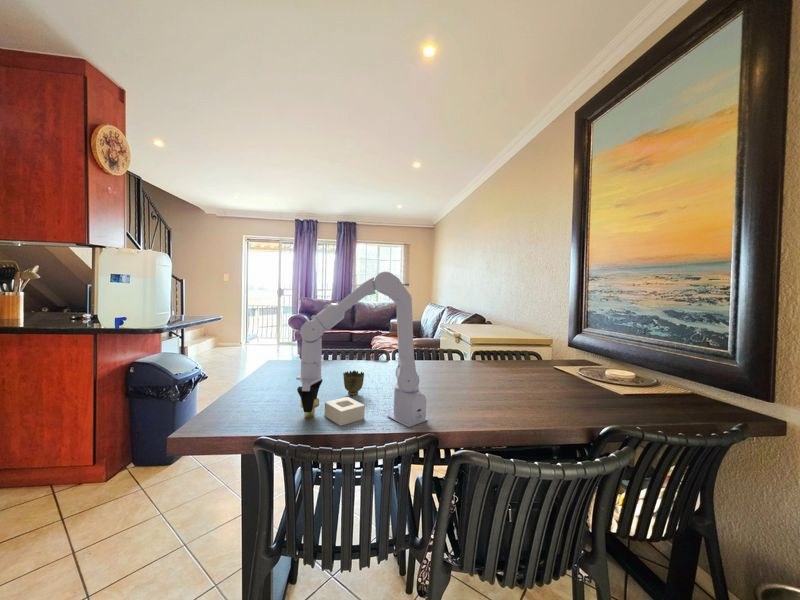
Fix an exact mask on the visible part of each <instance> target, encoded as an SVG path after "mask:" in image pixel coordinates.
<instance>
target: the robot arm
mask: <svg viewBox="0 0 800 600" xmlns="http://www.w3.org/2000/svg"><path fill="white" fill-rule="evenodd" d="M376 291H377V292H378V293H379V294H382V295H384V296H387V297H388V298H389V299H391V301H393V302H394V303H395V305H396V326H397V327H396V328H397V331H396V332H397V351H398V352H397V356H398V358H397V359H398V360H397V361H398V362H397V367H396V369H395V378H396V379H397V381H396V384H395V385H394V388H393V389H394V395H393V397H394V398H393V412H392V413H389V414H387V415H386V417H388V418H390V419H392V420H393V421H395V422H398V423H399V424H401V425H404V426H405V427H407V428H410V427H413V426H416V425H419V424H421V423H424V422H427V421H428V418H427V417H426V416H427V397H426V395H425V394H424V393H422V392H421V391H420V389H419V387H420V386H419V384H420V376H419V375H418V373H417V370H416V369H417V367H416V361H415V350H414V349H415V348H414V347H415V346H414V323H413V320H414V319H413V301H412V300H413V299H412V295H411V294H410V292H409V290H407V288H406V287H405V286H404V284H403V283H402V281H401V279H400V278H399V277H398V276H397V275H394V274H393V273H392V272H390V271H381V272H379V273H378V274H377V275H375V276H373V277H371V278H369V279H367V280H366V281H365V282H363V283H361V284H360V285H358V287H357V288H355V289H354V290H353V291H352V292H350V293H349V294H348V295H347V296H345V297H344V298H343V299H342V300H341V301H340V302H338V303H336V302H331V303H330V304H328V303H327V304H325V305H323V309H321V310H320V311H319V312H318V313H317V314H313V315H311V316H310V318H311V320H306V321H305V322H304V323H303V324H302V325H301V327H300V330H299V334H300V337H301V338H302V340H301V352H300V358H301V360H300V375H297V376H296V378H295V379H296V380H297V381H298V380H299V381H300V384H302V385H301V386H298V387H297V390H296V391H297V393H298V395H299V397H300V401H301V400H302V405H303V408H302V409H303V410H302V411H303V412H304V413H305V412H312V409H313V404H314V399H315V398H318V394H319V389H320V387H321V385H322V383H323V379H322V377H323V376H322V360H323V359H322V355H323V353H322V352H323V351H322V350H323V344H322V343H323V340H322V339H323V338H322V337H323V336H324V333H325V332H328V331H330V330H331V329H333V328H334V326H336V325H338V323H340V322H341V321H342V320H344V319H345V313H346V312H347V311H348V310H349V309H351V307H353V306H354V305H356V304H357V303H358V302H360V301H361V300H363V299H364V298H365V297H367V296H372V295H376V294H377V292H376Z"/></svg>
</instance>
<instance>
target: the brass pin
mask: <svg viewBox="0 0 800 600" xmlns="http://www.w3.org/2000/svg"><path fill="white" fill-rule="evenodd" d="M319 406H320V398H318V397H317V398H315V399H314V404H313V409H312V412H304V419H306V420H311V419H312V420H313V419H314V418H315V410H316V408H318V407H319ZM300 407H301V408H302V409H303V405H302V400H301V399H300Z"/></svg>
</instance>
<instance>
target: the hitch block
mask: <svg viewBox="0 0 800 600" xmlns="http://www.w3.org/2000/svg"><path fill="white" fill-rule="evenodd" d="M365 407H366V405H365V404H363V403H361V402H359V401H358V400H355V399H354V398H351V397H349V396H346V397H345V396H344V397H342V398H341V397H340V398H337V399H331V400H328V401H325V402H324V414H323V415H324V416H325V417H326V418H327V419H329V420H330V421H332V422H334V423H335V424H337V425H339V426H341V427H342V426H345V425H348V424H352V423H355V422H357V421H361V420H364V419H365Z"/></svg>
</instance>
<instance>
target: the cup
mask: <svg viewBox="0 0 800 600" xmlns="http://www.w3.org/2000/svg"><path fill="white" fill-rule="evenodd" d="M342 374H343V384H344V389H345V390H346V391H347V394H348V397H349V396H350V397H357V396H358V395H359V391H361V389H362V388H363V386H364V385H363V384H364V381H365V372H363V371H360V373H359V371H358V370H355V369H354V370H353V371H352V370H350V371H345V372H344V373H342Z"/></svg>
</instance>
